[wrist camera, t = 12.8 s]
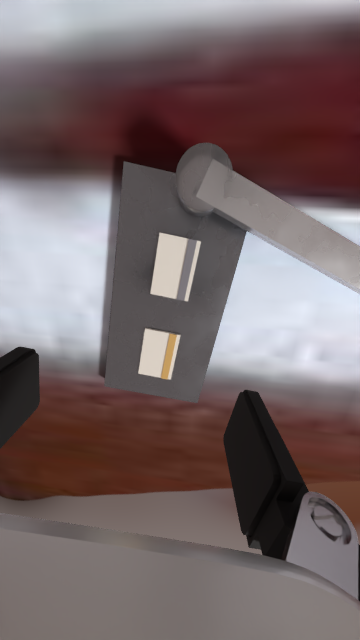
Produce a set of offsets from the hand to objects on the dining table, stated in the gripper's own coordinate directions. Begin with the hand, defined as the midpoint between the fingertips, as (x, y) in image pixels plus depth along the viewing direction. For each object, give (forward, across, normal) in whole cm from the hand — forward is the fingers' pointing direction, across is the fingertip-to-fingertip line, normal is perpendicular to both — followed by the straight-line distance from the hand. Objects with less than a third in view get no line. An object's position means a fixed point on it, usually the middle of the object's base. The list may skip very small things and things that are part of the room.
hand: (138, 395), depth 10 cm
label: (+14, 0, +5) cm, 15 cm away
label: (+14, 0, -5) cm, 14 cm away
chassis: (+15, 0, -1) cm, 15 cm away
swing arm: (+13, -11, -9) cm, 19 cm away
